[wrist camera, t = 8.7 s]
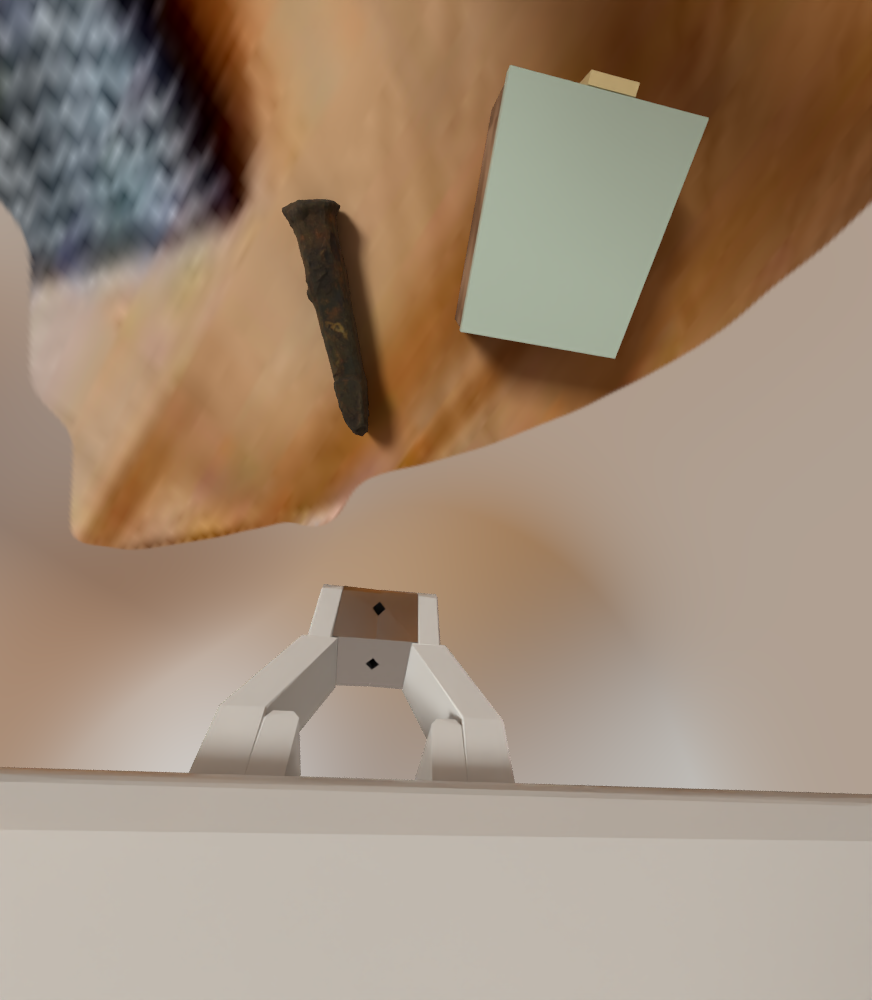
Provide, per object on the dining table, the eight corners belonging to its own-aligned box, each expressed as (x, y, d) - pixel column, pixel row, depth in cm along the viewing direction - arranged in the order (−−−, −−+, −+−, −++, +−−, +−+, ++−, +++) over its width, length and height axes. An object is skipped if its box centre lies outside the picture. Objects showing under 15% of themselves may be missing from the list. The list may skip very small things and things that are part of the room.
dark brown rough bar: (291, 205, 31) (272, 198, 27) (341, 201, 31) (329, 193, 27) (339, 429, 41) (331, 447, 37) (377, 426, 41) (372, 444, 37)
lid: (504, 66, 23) (513, 45, 21) (688, 115, 25) (715, 100, 23) (457, 326, 31) (460, 331, 29) (601, 352, 32) (615, 358, 30)
